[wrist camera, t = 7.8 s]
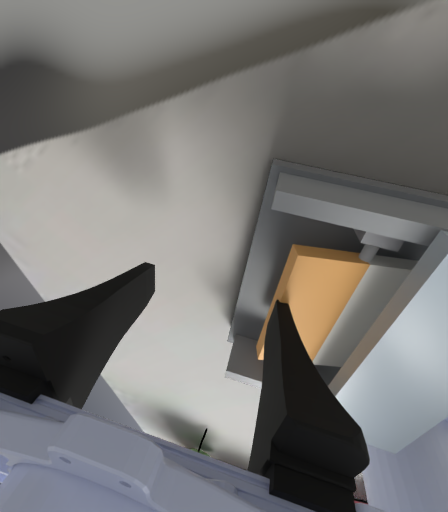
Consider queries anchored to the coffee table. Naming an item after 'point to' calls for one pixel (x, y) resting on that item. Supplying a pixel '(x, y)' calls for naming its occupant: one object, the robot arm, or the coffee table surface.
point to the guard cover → (402, 359)
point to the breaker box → (323, 240)
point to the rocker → (336, 297)
